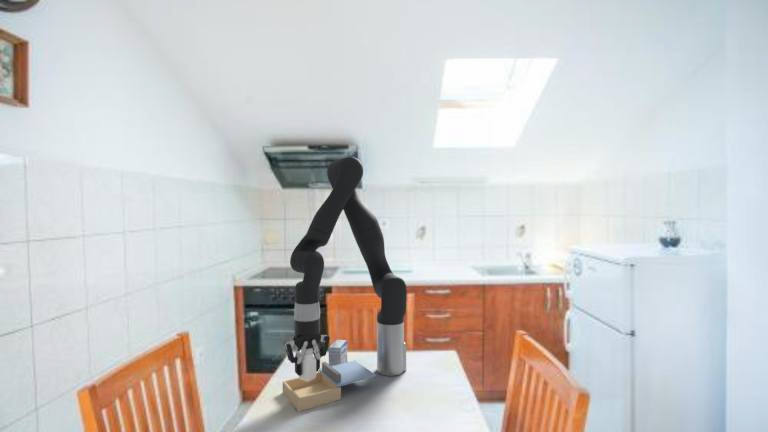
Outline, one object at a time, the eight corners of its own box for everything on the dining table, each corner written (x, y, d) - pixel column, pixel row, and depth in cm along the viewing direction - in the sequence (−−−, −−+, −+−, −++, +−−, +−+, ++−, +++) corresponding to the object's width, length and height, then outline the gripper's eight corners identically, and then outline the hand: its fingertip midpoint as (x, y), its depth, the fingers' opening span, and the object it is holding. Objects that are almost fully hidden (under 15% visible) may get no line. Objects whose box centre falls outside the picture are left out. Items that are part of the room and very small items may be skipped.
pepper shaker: (307, 374, 126) (307, 344, 126) (317, 378, 124) (317, 347, 123) (297, 379, 123) (297, 347, 123) (307, 383, 121) (307, 351, 120)
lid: (354, 362, 140) (354, 353, 139) (375, 376, 128) (375, 366, 128) (318, 371, 132) (318, 361, 132) (337, 387, 121) (337, 376, 121)
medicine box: (341, 373, 140) (340, 348, 140) (328, 372, 141) (328, 347, 141) (347, 363, 148) (347, 340, 148) (335, 362, 149) (335, 339, 148)
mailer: (322, 382, 133) (322, 371, 133) (341, 398, 122) (340, 387, 122) (282, 392, 126) (282, 381, 126) (298, 411, 115) (298, 399, 115)
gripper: (324, 310, 130) (324, 363, 130) (279, 317, 122) (280, 373, 123) (334, 316, 123) (334, 371, 124) (288, 323, 116) (288, 383, 116)
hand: (307, 372), depth 123 cm, fingers closed on pepper shaker, 4 cm apart
